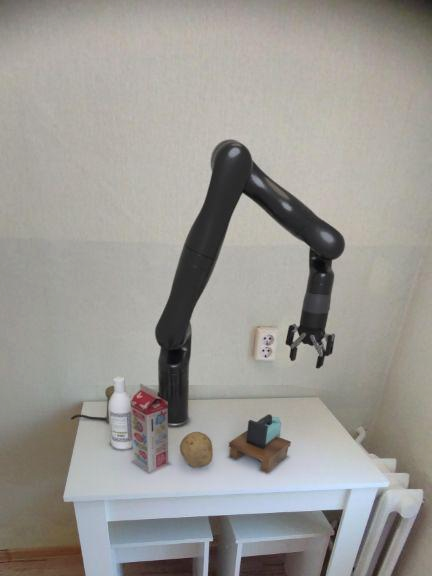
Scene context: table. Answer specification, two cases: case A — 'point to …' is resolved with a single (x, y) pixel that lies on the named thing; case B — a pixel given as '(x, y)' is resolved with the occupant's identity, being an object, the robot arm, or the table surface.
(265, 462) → the stand
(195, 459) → the natural sponge
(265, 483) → the table surface
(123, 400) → the bath foam
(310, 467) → the table surface
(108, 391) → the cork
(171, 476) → the table surface
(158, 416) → the milk carton
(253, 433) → the iron
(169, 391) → the robot arm
